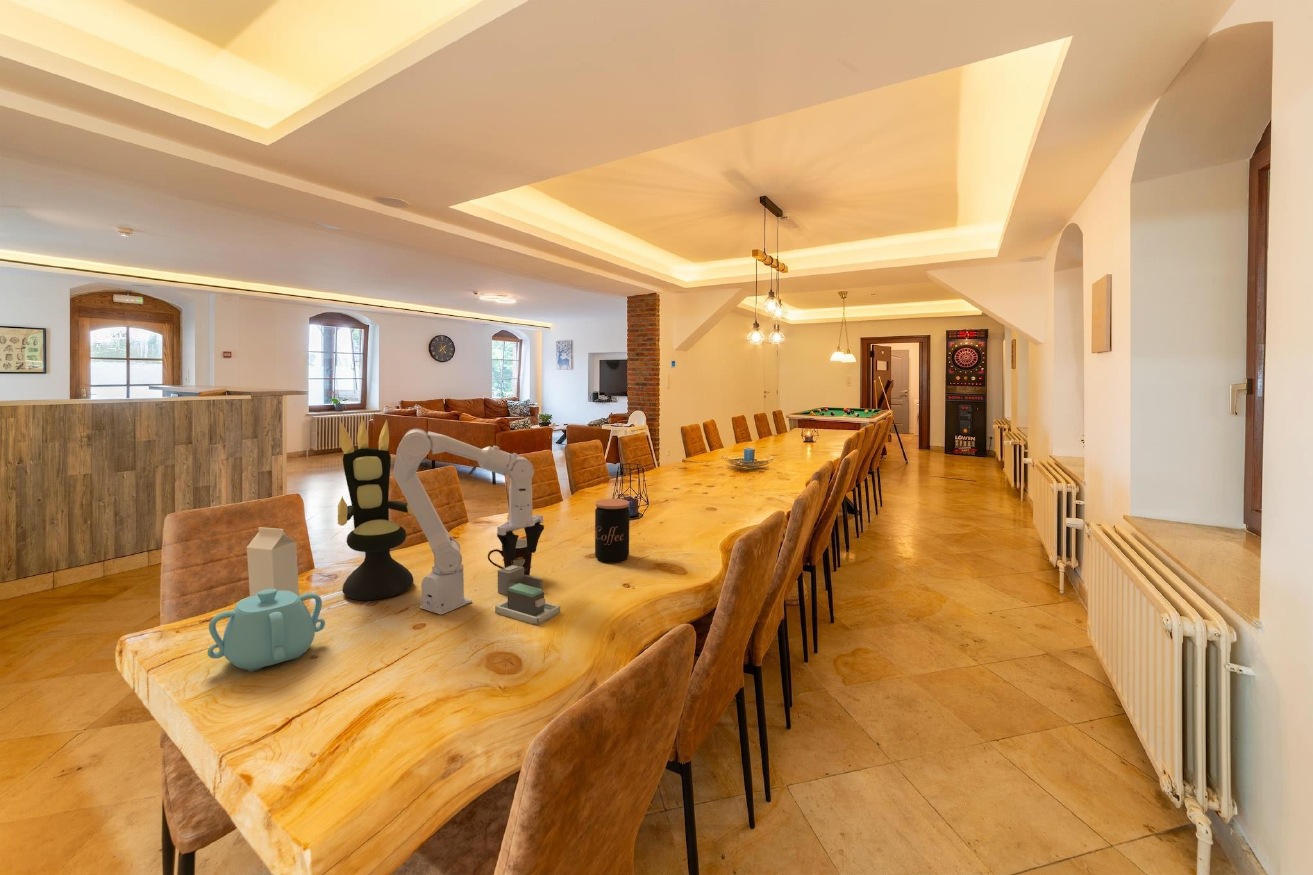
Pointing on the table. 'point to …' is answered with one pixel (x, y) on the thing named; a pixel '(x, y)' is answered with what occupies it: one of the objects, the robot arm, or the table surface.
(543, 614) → the tray
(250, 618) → the decorative pot
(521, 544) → the coffee mug
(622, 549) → the coffee jar
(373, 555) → the black throne chair
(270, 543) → the milk carton
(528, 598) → the mint green tabbed block
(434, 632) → the table surface
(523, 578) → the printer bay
